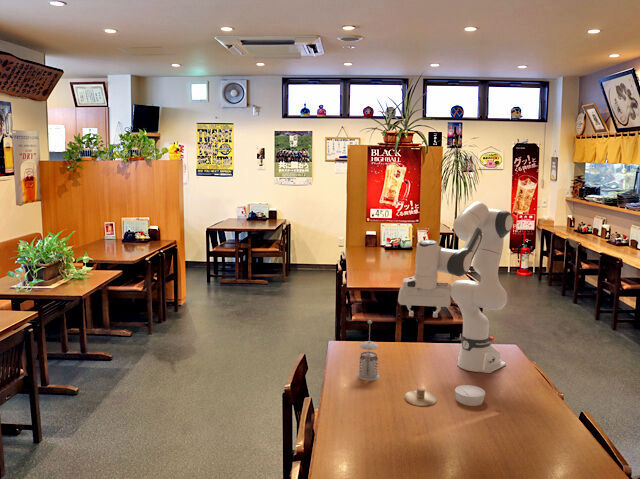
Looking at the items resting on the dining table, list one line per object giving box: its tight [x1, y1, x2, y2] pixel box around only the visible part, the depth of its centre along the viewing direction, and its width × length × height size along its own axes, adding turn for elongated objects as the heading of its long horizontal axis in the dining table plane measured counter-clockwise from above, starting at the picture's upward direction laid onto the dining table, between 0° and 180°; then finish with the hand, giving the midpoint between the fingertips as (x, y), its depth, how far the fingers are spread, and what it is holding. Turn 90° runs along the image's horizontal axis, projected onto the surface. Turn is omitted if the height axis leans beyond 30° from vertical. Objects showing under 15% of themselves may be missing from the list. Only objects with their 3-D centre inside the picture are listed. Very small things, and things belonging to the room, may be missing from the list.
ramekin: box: [454, 384, 486, 407], centre depth 217 cm, size 11×11×5 cm
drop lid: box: [404, 387, 437, 407], centre depth 217 cm, size 12×12×4 cm
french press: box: [356, 319, 380, 382], centre depth 239 cm, size 10×12×25 cm
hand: (423, 316), depth 221 cm, fingers open, 8 cm apart
